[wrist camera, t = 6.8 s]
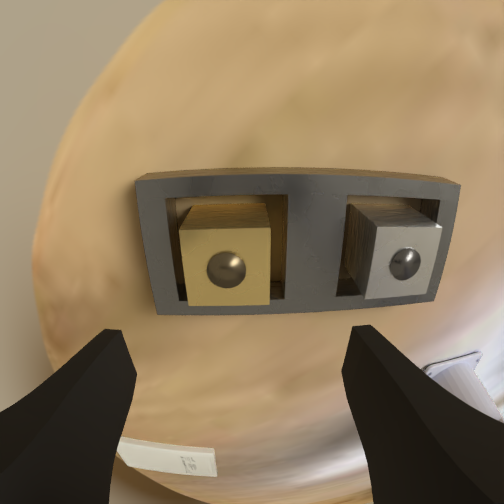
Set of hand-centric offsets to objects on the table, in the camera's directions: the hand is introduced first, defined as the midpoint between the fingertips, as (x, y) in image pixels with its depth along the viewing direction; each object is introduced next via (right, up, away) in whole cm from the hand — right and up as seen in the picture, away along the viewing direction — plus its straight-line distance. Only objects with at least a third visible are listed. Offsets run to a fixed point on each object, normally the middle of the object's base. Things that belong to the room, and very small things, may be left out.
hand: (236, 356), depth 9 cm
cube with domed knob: (+8, +4, +9) cm, 13 cm away
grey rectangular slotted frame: (+4, +4, +8) cm, 10 cm away
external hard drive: (-10, -22, +21) cm, 32 cm away
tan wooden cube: (-1, +4, +9) cm, 10 cm away
